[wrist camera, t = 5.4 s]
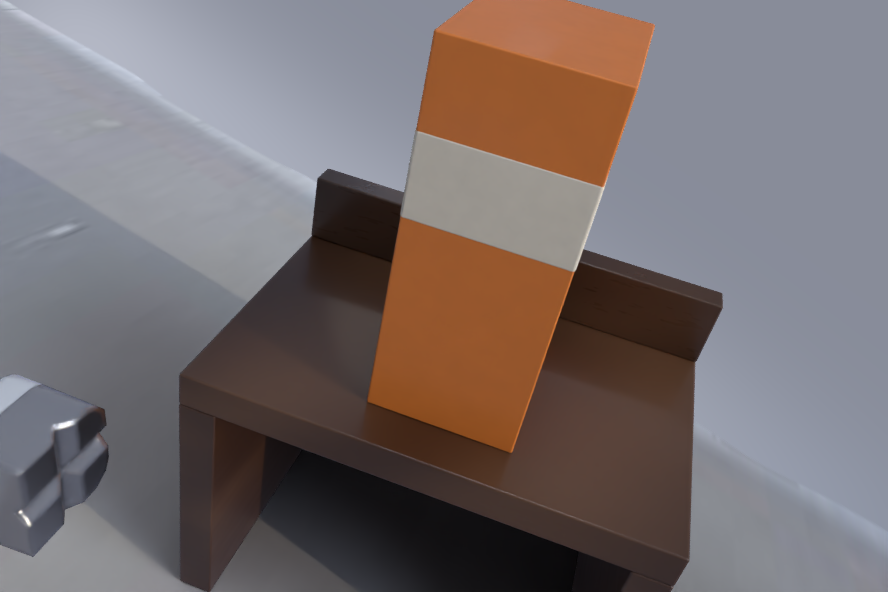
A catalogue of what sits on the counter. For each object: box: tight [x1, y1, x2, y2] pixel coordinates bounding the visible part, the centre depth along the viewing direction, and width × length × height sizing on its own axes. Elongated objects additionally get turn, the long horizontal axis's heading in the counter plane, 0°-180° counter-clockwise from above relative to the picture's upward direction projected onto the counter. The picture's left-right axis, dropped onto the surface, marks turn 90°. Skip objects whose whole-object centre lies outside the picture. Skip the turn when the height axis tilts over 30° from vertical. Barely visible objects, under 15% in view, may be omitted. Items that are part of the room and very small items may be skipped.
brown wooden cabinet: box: [179, 169, 723, 592], centre depth 27 cm, size 15×10×12 cm, turn 73°
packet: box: [367, 0, 655, 453], centre depth 22 cm, size 4×6×11 cm
